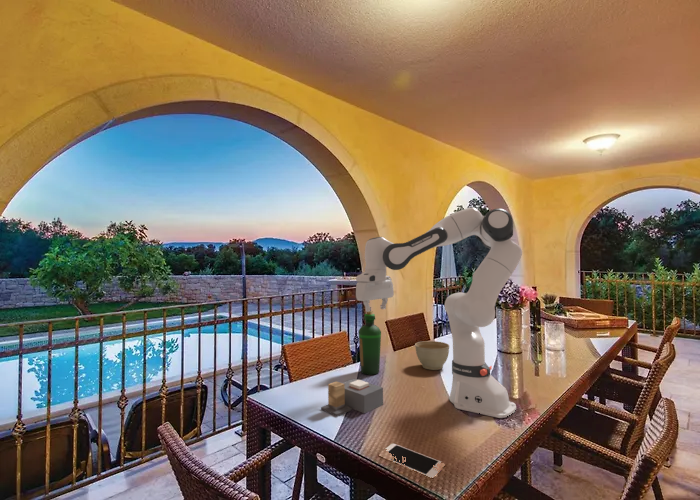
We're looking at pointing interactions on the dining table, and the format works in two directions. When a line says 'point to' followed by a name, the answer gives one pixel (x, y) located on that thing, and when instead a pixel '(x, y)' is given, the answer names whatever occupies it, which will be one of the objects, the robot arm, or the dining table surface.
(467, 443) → the dining table surface
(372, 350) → the bottle
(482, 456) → the dining table surface
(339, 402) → the tan wooden block
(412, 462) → the cell phone
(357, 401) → the block
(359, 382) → the button
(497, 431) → the dining table surface
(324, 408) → the mat
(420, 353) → the planter bowl
